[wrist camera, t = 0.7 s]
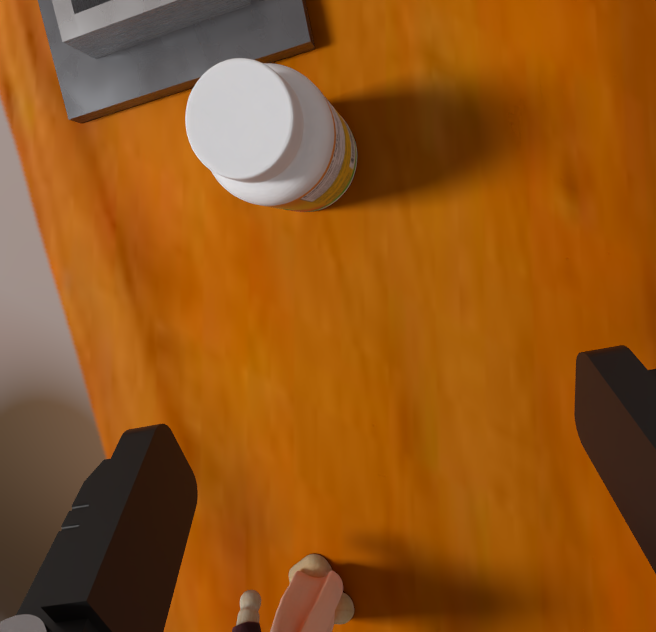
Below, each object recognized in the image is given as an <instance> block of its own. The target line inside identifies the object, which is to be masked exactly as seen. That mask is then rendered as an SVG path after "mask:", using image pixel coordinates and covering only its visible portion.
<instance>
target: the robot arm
mask: <svg viewBox="0 0 656 632" xmlns="http://www.w3.org/2000/svg"><path fill="white" fill-rule="evenodd" d="M575 422H576V427H577V431H578V435H579V438H580V440H581V443H582V445H583V447H584V449H585V451H586V452H587V454H588V456H589V458H590V459H591V461H592V463H593V465H594V466H595V468H596V470H597V472H598V473H599V475H600V477H601V479H602V480H603V482H604V484H605V486H606V487H607V489H608V491H609V493H610V494H611V496H612V498H613V500H614V501H615V503H616V505H617V507H618V508H619V510H620V512H621V514H622V516H623V517H624V519H625V521H626V523H627V524H628V526H629V528H630V530H631V531H632V533H633V535H634V537H635V538H636V540H637V542H638V544H639V545H640V547H641V549H642V551H643V552H644V554H645V556H646V558H647V559H648V561H649V563H650V565H651V566H652V568H653V570H654V572H655V573H656V369H653V370H647V369H646V368H645V367H644V365H643V364H642V363H641V362H640V361H639V360H638V358H637V357H636V356H635V355H634V354H633V353H632V351H631V350H630V349H629V348H627V347H626V346H624V345H621V346H615V347H609V348H603V349H598V350H592V351H586V352H581V353H579V354H578V356H577V360H576V384H575ZM196 504H197V484H196V479H195V476H194V473H193V471H192V469H191V467H190V466H189V464H188V462H187V460H186V458H185V456H184V454H183V452H182V450H181V448H180V446H179V444H178V442H177V441H176V439H175V437H174V435H173V433H172V431H171V429H170V428H169V427H168V426H167V425H166V424H158V425H152V426H147V427H141V428H135V429H129V430H127V431H125V432H124V433H123V435H122V436H121V438H120V440H119V443H118V445H117V447H116V449H115V451H114V453H113V455H112V457H111V459H106V460H103V461H102V463H101V464H100V465H99V466H98V467H97V468H96V469H95V470H94V471H93V473H92V474H91V475H90V476H89V477H88V478H87V480H86V481H84V483H83V485H82V487H81V489H80V491H79V493H78V495H77V497H76V499H75V501H74V503H73V505H72V511H69V512H68V514H67V516H66V518H65V520H64V522H63V524H62V531H59V532H58V534H57V536H56V538H55V540H54V542H53V544H52V546H51V548H50V550H49V552H48V554H47V556H46V558H45V560H44V562H43V564H42V566H41V567H40V569H39V571H38V573H37V575H36V577H35V579H34V581H33V583H32V585H31V587H30V589H29V591H28V593H27V595H26V597H25V599H24V601H23V603H22V605H21V607H20V609H19V610H18V612H17V614H16V616H14V617H10V618H8V619H6V620H4V621H2V622H0V632H163V631H164V627H165V623H166V619H167V615H168V612H169V608H170V604H171V600H172V596H173V593H174V589H175V585H176V581H177V577H178V574H179V570H180V566H181V562H182V558H183V554H184V551H185V547H186V543H187V539H188V535H189V532H190V528H191V524H192V520H193V516H194V513H195V509H196Z"/></svg>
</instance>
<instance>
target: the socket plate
mask: <svg viewBox="0 0 656 632" xmlns="http://www.w3.org/2000/svg"><path fill="white" fill-rule="evenodd" d="M38 3H39V7H40V11H41V14H42V18H43V22H44V26H45V30H46V34H47V38H48V41H49V45H50V49H51V53H52V57H53V61H54V65H55V69H56V72H57V76H58V80H59V84H60V88H61V92H62V96H63V99H64V103H65V107H66V111H67V115H68V119H69V120H72V121H75V122H78V123H83V122H87V121H90V120H93V119H96V118H99V117H102V116H105V115H109V114H112V113H115V112H118V111H121V110H124V109H127V108H131V107H134V106H137V105H140V104H143V103H146V102H149V101H153V100H156V99H159V98H162V97H165V96H168V95H171V94H175V93H178V92H181V91H184V90H187V89H190V88H193V87H194V86H195V84H196V83H197V81H198V80H199V79H200V77H201V76H202V75H203V74H204V73H205V72H206V71H207V70H209V69H210V68H211V67H213V66H215V65H216V64H218V63H220V62H223V61H225V60H229V59H234V58H247V59H253V60H256V61H259V62H262V63H272V62H275V61H278V60H281V59H285V58H288V57H291V56H294V55H297V54H300V53H303V52H307V51H310V50H313V49H315V45H314V40H313V35H312V30H311V25H310V21H309V16H308V11H307V6H306V1H305V0H38Z"/></svg>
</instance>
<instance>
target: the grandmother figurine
mask: <svg viewBox="0 0 656 632" xmlns="http://www.w3.org/2000/svg"><path fill="white" fill-rule="evenodd" d="M289 581H290V584H289V586H288V588H287V590H286V591H285V593H284V595H283V596H282V598H281V601H280V604H279V607H278V609H277V611H276V614H275V618H274V621H273V625H272V628H271V631H270V632H332V629H333V626H334V624H344V623H346V622H348V621H349V620H350V619H351V618H352V617H353V614H354V605H353V602H352V600H351V598H350V597H349V596H348V595H347V594H345V593H343V583H342V580H341V578H340V577H339V575H338V574H337V573H336V572H334V571H332V568H331V566H330V565H329V563H328V561H327V560H326V559H325V558H324V557H322V556H320V555H318V554H310V555H307V556H306V557H305V558H303V559H302V560H301V561H299V562H298V563H297V564H295V565H294V566H293V567H292V568H291V569H290V571H289ZM260 605H261V597H260V595H259V593H258V592H257V591H255V590H248V591H246V592H244V593H243V595H242V596H241V598H240V608H241V610H240V612H239V614H238V617H237V624H236V626H235V627H233V630H232V632H261V629H260V624H259V613H258V610H259V608H260Z"/></svg>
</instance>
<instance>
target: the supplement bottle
mask: <svg viewBox="0 0 656 632" xmlns="http://www.w3.org/2000/svg"><path fill="white" fill-rule="evenodd" d="M185 122H186V130H187V135H188V139H189V142H190V144H191V147H192V149H193V151H194V152H195V154H196V156H197V157H198V158H199V160H200V161H201V162H202V163H203V164H204V165H205V166H206V167H207V168H209V169H210V170H211V172H212V173H213V175H214V176H215V178H216V179H217V180H218V182H219V183H220V184H221V185H222V186H223V187H224V188H225V189H226V190H227V191H229V192H230V193H231V194H233V195H234V196H236V197H238V198H240V199H242V200H244V201H247V202H249V203H253V204H257V205H261V206H268V207H273V208H279V209H285V210H291V211H297V212H312V211H317V210H320V209H323V208H326V207H328V206H330V205H331V204H333V203H334V202H335V201H337V200H338V199H339V198H340V197H341V196H342V195H343V194H344V193H345V192H346V190H347V189H348V187H349V186H350V184H351V182H352V180H353V177H354V174H355V171H356V166H357V147H356V142H355V139H354V136H353V134H352V132H351V130H350V128H349V126H348V124H347V123H346V122H345V120H344V119H343V118H342V117H341V115H340V114H339V113H338V112H337V111H336V109H335V108H334V107H333V106H332V105H331V103H330V102H329V101H328V100H327V99H326V97H325V96H324V95H323V94H322V92H321V91H320V90H319V89H318V88H317V87H316V86H315V85H314V84H313V83H312V82H311V81H310V80H309V79H308V78H306V77H305V76H304V75H302V74H301V73H299V72H298V71H296V70H294V69H292V68H289V67H287V66H284V65H279V64H273V63H262V62H259V61H256V60H253V59H247V58H234V59H229V60H225V61H223V62H220V63H218V64H216V65H215V66H213V67H211V68H210V69H209V70H207V71H206V72H205V73H204V74H203V75H202V76H201V77H200V79H199V80H198V81H197V83H196V84H195V86H194V88H193V89H192V91H191V94H190V96H189V99H188V103H187V107H186V117H185Z"/></svg>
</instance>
